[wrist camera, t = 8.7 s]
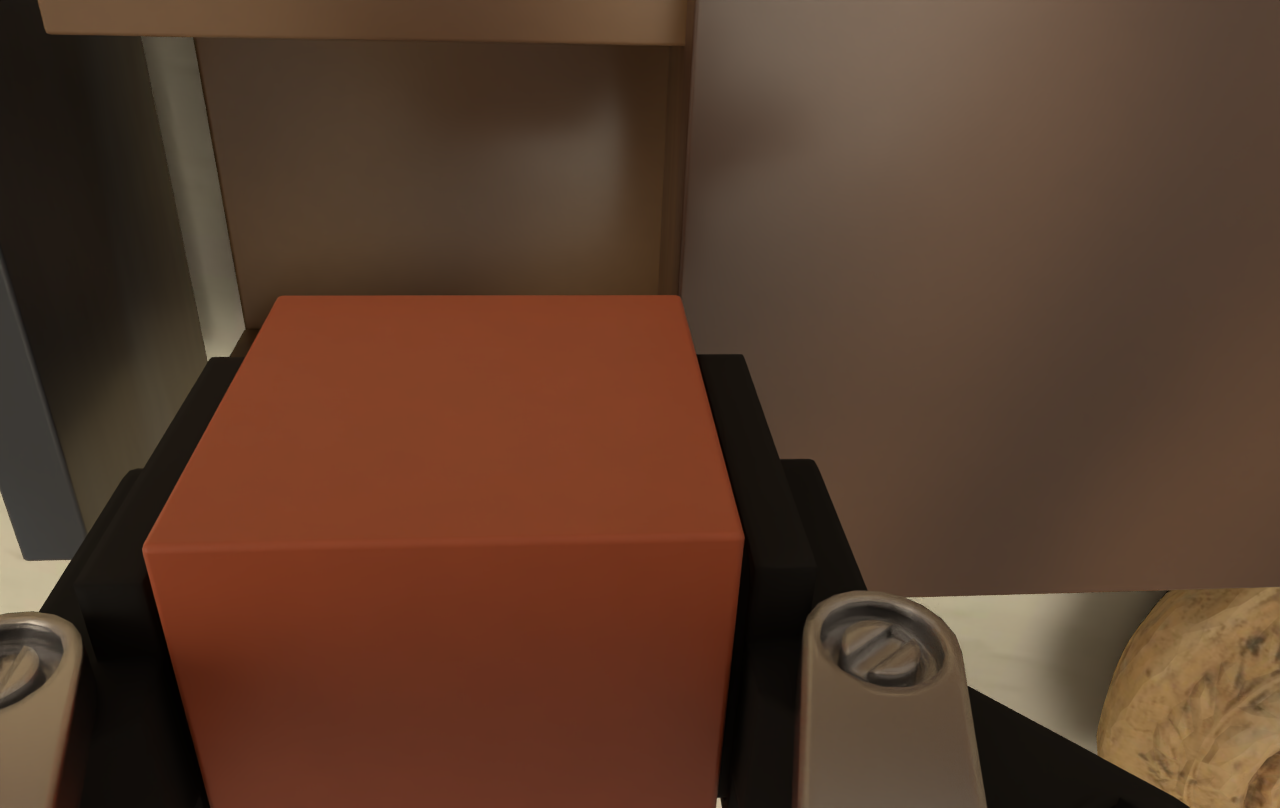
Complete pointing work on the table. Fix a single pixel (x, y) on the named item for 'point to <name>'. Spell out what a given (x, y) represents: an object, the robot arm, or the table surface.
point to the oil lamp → (1201, 699)
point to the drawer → (302, 192)
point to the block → (456, 559)
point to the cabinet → (1001, 277)
